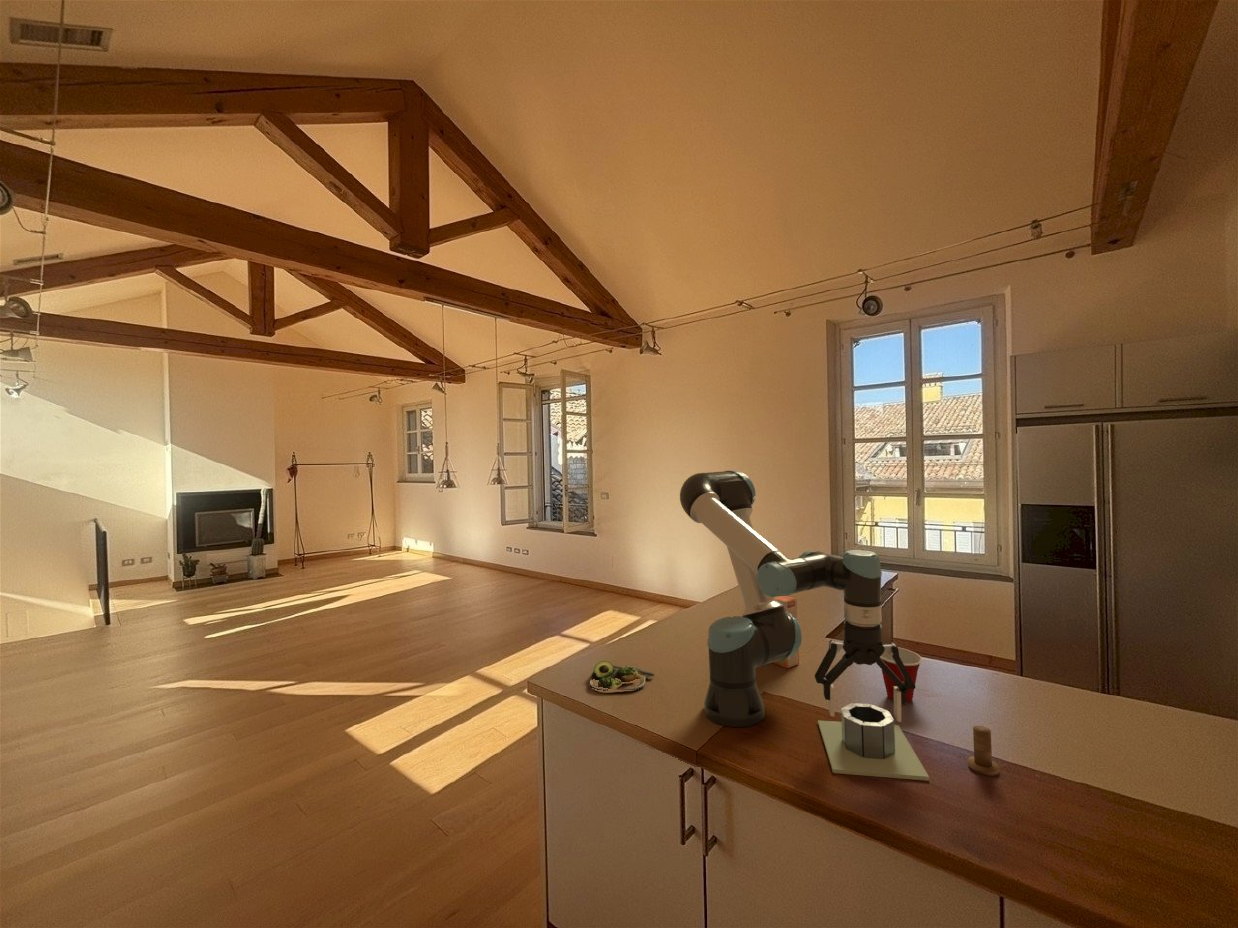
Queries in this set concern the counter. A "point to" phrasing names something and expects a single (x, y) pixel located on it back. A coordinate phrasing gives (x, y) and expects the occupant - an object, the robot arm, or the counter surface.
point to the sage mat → (850, 763)
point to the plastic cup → (911, 665)
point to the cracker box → (791, 608)
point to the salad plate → (617, 676)
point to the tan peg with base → (982, 753)
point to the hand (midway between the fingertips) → (864, 715)
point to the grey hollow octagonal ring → (868, 730)
